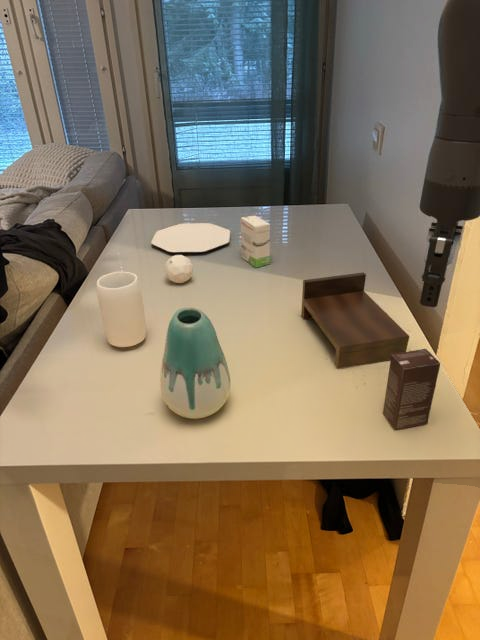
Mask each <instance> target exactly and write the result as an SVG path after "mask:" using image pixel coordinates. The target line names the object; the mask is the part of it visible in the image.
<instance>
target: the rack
mask: <svg viewBox="0 0 480 640" xmlns="http://www.w3.org/2000/svg"><path fill="white" fill-rule="evenodd" d="M366 277H367V274H366V273H365V272H356V273H347V274H341V275H333V276H325V277H317V278H309V279H303V280H302V293H301V295H302V297H301V313H300V314H301V315H300V316H301V318H302V319H303V320H311V319H313V320H314V321H315V323H316V324H317V325H318V327H319V328H320V330H321V331H322V332H323V334H324V335H325V336H326V338H327V339H328V340H329V342H330V344H332V346H333V347H334V348H335V355H334V356H335V358H334V366H335V367H336V369H337V370H339V369H343V368H349V367H356V366H363V365H368V364H369V365H370V364H374V363H379V362H380V363H381V362H386V361H391V354H395V353H402V352H407V349H408V345H409V341H410V340H409V339H410V335H409V334H408V333H407V332H406V331H405V330H404V329H403V327H401V326H400V325H399V324H398V323H397V322H396V321H395V320H394V319H393V318H392V317H391V316H390V315H389V314H388V313H387V312H386V311H385V310H384V309H383V308H382V306H380V305H379V304H378V303H376V301H375V300H374V299H373V298H371V296H370V295H369V294H368V293H366V291H365V286H366V279H367V278H366Z"/></svg>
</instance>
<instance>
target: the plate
mask: <svg viewBox="0 0 480 640" xmlns="http://www.w3.org/2000/svg"><path fill="white" fill-rule="evenodd" d="M153 235H154V236H153V238H152V239H151V241H150V244H151V245H152V246H154V247H156V248H158V249H160V250H163V251H164V252H167V253H170V254H198V253H199V254H200V253H201V254H203V253H208V252H209V251H212V250H215V249H217V248H220V247H222V246H226V245H228V244H229V243H230V239H231V230H230V229H228V228H225V227H223V226H219V225H216V224H213V223H209V222H203V223H200V222H199V223H198V222H197V223H194V222H192V223H191V222H190V223H178V224H175V225H172V226H169V227H166V228H162V229H159V230H157V231H156V232H155V233H154V234H153Z"/></svg>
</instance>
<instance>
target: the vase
mask: <svg viewBox="0 0 480 640" xmlns="http://www.w3.org/2000/svg"><path fill="white" fill-rule="evenodd" d="M165 335H166V337H165V345H164V350H163V354H162V355H163V356H162V360H161V365H160V372H159V388H160V394H161V396H162V399H163V401H164V403H165V404H166V406H167V407H168V408H169V409H170V410H171V411H172V412H173V413H175V414H176V415H178V416H180V417H183V418H185V419H192V420H194V419H195V420H199V419H204V418H208V417H210V416H212V415H214V414H215V413H216V412H218V411H219V410H220V409H222V407H223V406H224V404H225V403H226V402H227V400H228V398H229V395H230V391H231V375H230V374H231V373H230V370H229V365H228V362H227V359H226V356H225V354H224V351H223V348H222V346H221V344H220V340H219V337H218V335H217V331H216V329H215V326H214V324H213V323H212V321H211V319H210V318H209V317H208V315H206V313H204V311H202V310H200V309H199V308H196V307H182V308H179V309H178V310H176V311H175V312H174V314H173V315H172V317H171V319H170V320H169V323H168V326H167V331H166V334H165Z"/></svg>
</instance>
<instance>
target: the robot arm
mask: <svg viewBox="0 0 480 640" xmlns="http://www.w3.org/2000/svg"><path fill="white" fill-rule="evenodd" d="M437 27H438V28H437V55H438V58H437V59H438V72H439V74H438V75H439V88H440V104H439V109H438V116H437V119H436V126H435V132H434V136H433V140H432V144H431V147H430V150H429V153H428V156H427V157H428V158H427V163H426V168H425V173H424V178H423V179H424V180H423V184H422V190H421V196H420V201H419V210H420V212H421V213H422V214H423V215H425V216H428V217H432V218H434V219H435V220H436V221H431V224H430V227H429V228H428V232H427V236H426V241H427V245H426V248H425V252H424V257H423V262H424V270H423V274H422V275H421V279H422V280H421V281H422V282H423V283H422V290H421V294H420V300H419V304H420V305H421V306H424V307H430V308H436V307H438V304H439V299H440V295H441V291H442V287H443V284H444V283H445V282H446V274H447V270H448V268H450V267H451V266H452V265H453V261H454V257H455V254H456V253H455V252H456V249H457V247H458V246H459V245H460V241H461V237H462V233H463V230H464V225H460V224H459V222H462V221H465V222H469V221H473V220H476V219H478V218H479V217H480V0H446V2H445V4H444V6H443V9H442V11H441V14H440V17H439V22H438V26H437Z"/></svg>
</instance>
